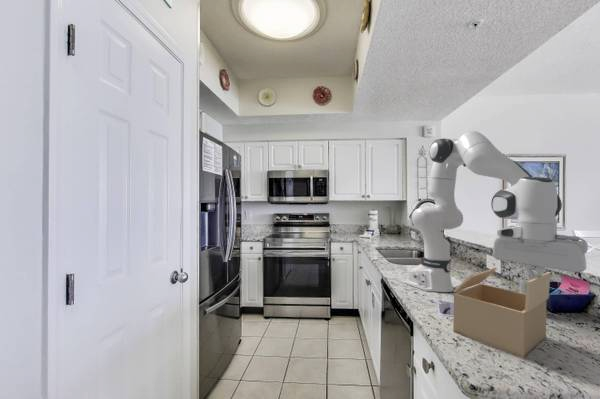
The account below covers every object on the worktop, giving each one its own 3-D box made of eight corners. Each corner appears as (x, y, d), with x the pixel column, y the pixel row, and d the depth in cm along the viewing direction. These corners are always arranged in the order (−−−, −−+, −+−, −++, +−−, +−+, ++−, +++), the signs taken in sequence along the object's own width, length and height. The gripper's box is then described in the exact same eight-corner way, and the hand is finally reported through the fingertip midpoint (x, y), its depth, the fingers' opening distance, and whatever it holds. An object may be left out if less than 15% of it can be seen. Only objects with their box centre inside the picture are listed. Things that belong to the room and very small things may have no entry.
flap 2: (527, 281, 73) (529, 282, 72) (548, 271, 84) (550, 272, 83) (524, 311, 73) (527, 312, 73) (546, 297, 84) (548, 298, 84)
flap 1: (497, 268, 95) (495, 267, 95) (472, 276, 84) (470, 275, 84) (480, 282, 99) (479, 281, 99) (454, 292, 88) (453, 290, 88)
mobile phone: (438, 312, 101) (437, 299, 114) (438, 315, 101) (437, 302, 114) (462, 316, 98) (458, 303, 111) (462, 319, 98) (458, 305, 111)
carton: (453, 331, 88) (453, 293, 88) (480, 317, 99) (481, 283, 99) (523, 358, 73) (524, 313, 73) (546, 337, 84) (546, 298, 84)
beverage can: (538, 315, 101) (539, 282, 101) (523, 314, 102) (524, 281, 102) (530, 310, 106) (530, 279, 106) (516, 309, 107) (516, 278, 107)
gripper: (590, 236, 72) (589, 289, 72) (499, 228, 89) (498, 271, 89) (585, 238, 69) (584, 293, 69) (491, 229, 85) (490, 274, 85)
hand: (534, 281), depth 79 cm, fingers closed
